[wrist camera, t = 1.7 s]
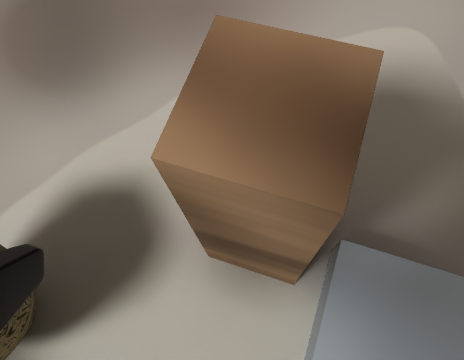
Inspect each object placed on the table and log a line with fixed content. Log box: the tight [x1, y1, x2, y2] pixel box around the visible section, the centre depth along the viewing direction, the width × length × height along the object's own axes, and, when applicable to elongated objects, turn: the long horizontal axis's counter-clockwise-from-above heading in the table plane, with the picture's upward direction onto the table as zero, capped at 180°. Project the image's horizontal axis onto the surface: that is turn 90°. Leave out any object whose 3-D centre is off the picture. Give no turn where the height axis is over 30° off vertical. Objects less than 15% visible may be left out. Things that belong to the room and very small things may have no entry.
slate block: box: [305, 239, 464, 360], centre depth 18 cm, size 8×8×3 cm
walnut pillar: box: [151, 15, 384, 285], centre depth 16 cm, size 5×5×13 cm
